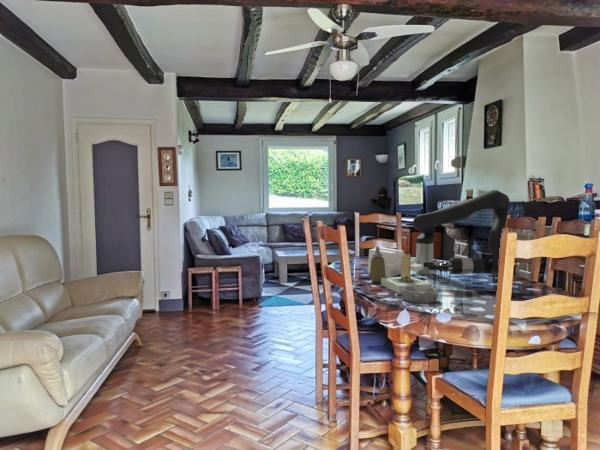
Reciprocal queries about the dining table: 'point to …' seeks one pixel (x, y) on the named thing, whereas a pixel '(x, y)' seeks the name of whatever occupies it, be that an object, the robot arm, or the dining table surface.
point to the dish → (420, 295)
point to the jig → (404, 284)
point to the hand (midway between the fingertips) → (425, 266)
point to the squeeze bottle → (377, 266)
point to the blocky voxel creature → (392, 261)
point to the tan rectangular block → (405, 267)
